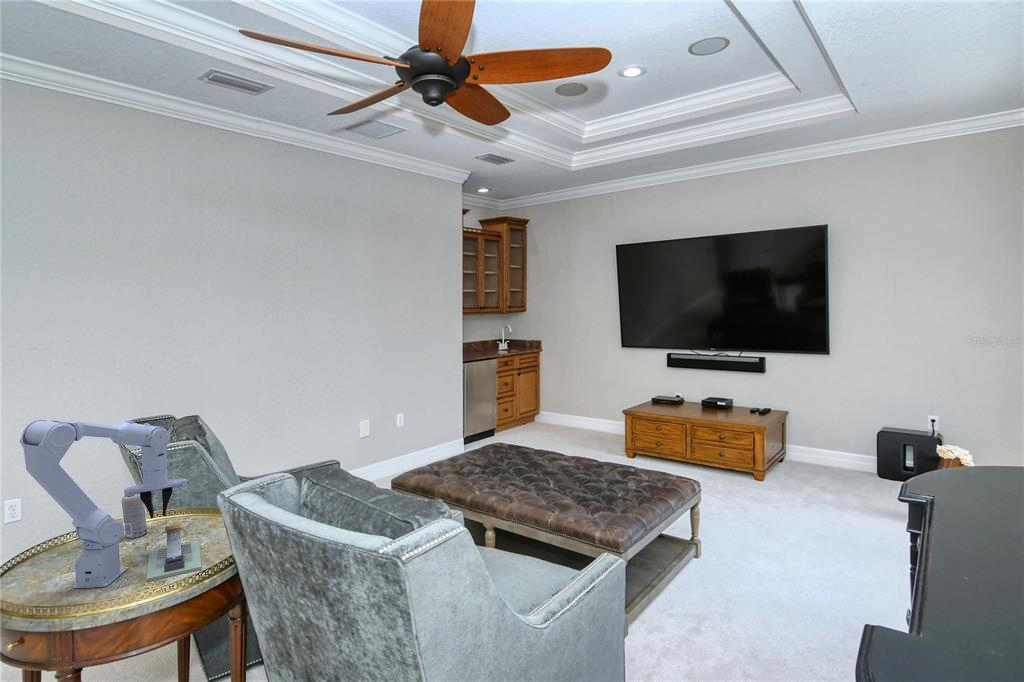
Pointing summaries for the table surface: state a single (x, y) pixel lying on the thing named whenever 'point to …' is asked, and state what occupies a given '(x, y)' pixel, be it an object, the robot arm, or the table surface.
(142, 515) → the energy drink
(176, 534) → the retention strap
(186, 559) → the heat sink
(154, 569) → the socket board
